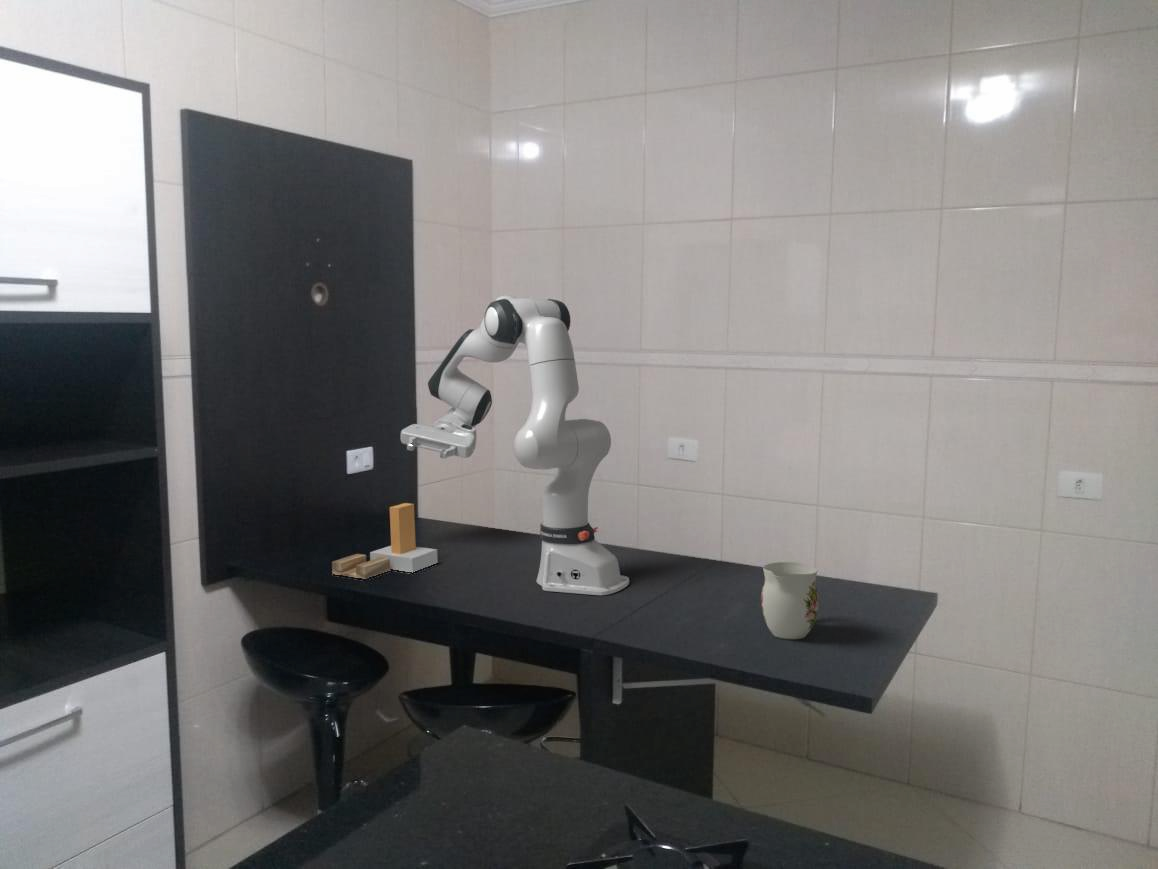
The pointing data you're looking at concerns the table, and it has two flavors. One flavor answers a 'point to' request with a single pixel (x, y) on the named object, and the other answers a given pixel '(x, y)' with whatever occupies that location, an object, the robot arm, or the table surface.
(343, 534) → the table surface
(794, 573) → the pitcher
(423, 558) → the block
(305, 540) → the table surface
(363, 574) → the rack
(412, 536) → the orange rectangular block
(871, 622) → the table surface
